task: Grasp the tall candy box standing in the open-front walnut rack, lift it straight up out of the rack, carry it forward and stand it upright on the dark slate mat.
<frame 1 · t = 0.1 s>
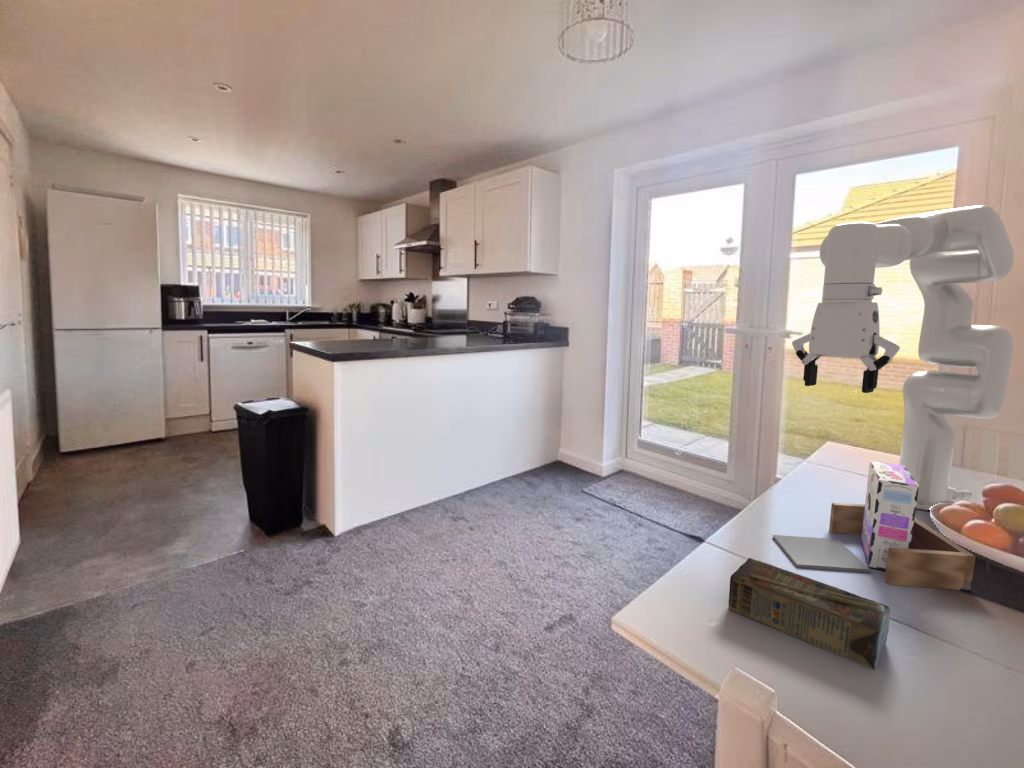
hand: (837, 388, 93), 31 cm above the table, tool pointing down, fingers open, 9 cm apart
beverage carton: (802, 628, 73), on the table
mat: (818, 553, 95), on the table
candy box: (881, 556, 94), on the table
rack: (878, 555, 94), on the table
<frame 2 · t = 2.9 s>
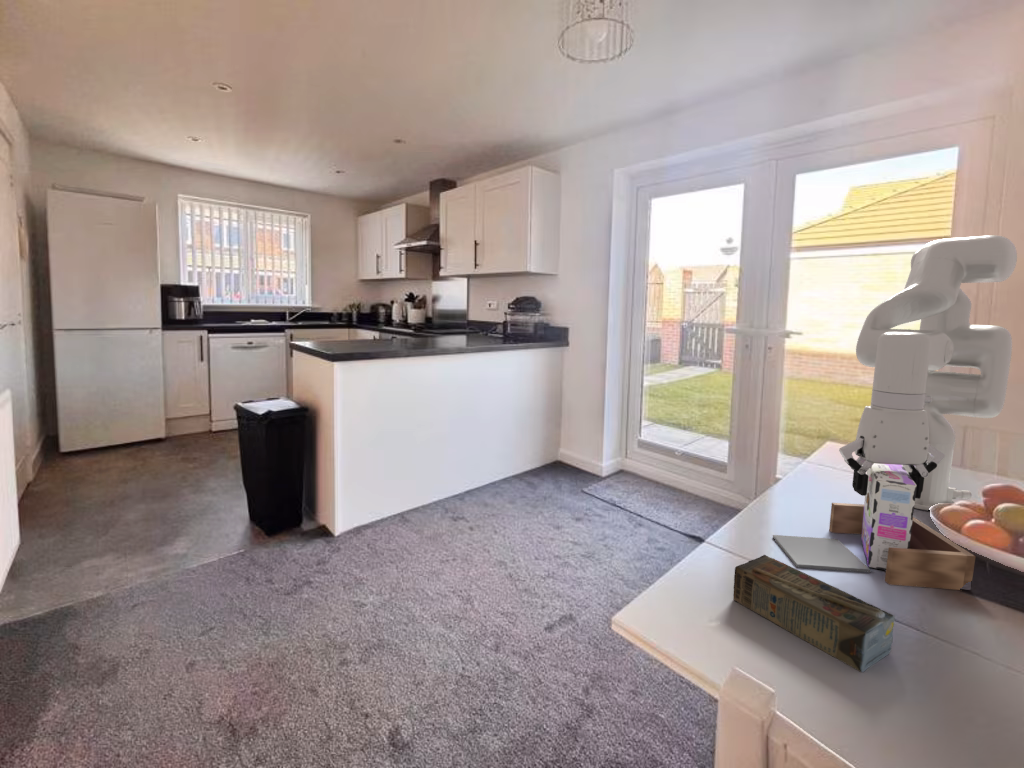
hand: (886, 494, 92), 12 cm above the table, tool pointing down, fingers open, 8 cm apart
candy box: (881, 556, 94), on the table, touching gripper
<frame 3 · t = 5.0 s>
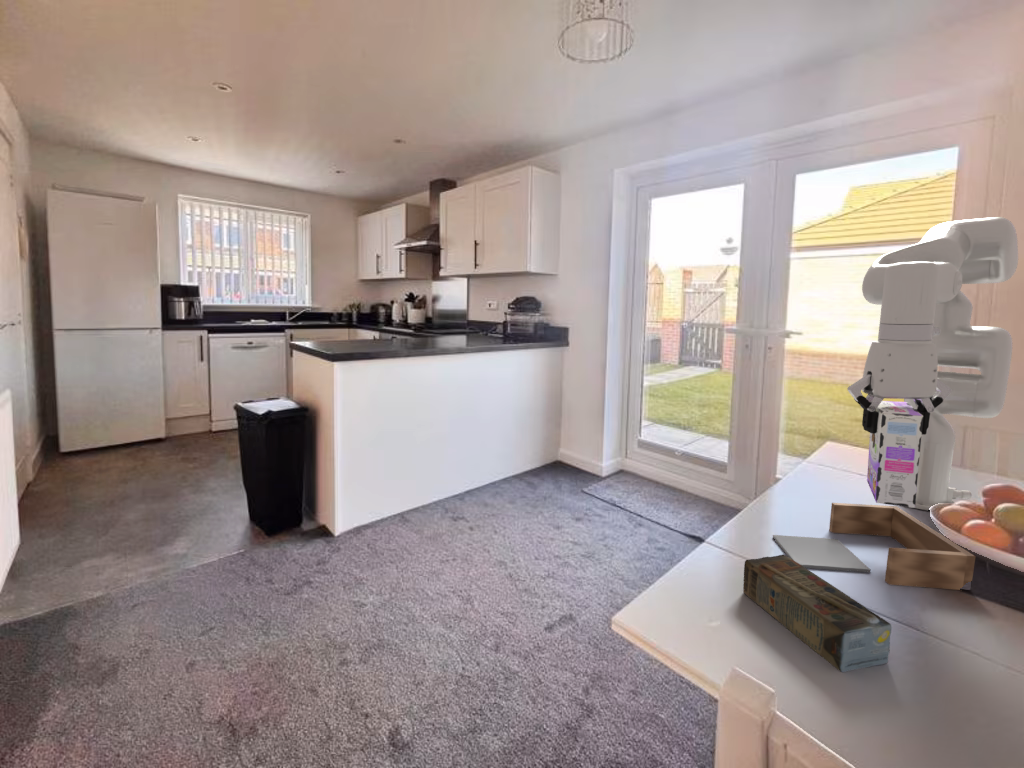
hand: (894, 431, 91), 24 cm above the table, tool pointing down, fingers closed on candy box, 7 cm apart
candy box: (889, 494, 93), point 12 cm above the table, touching gripper
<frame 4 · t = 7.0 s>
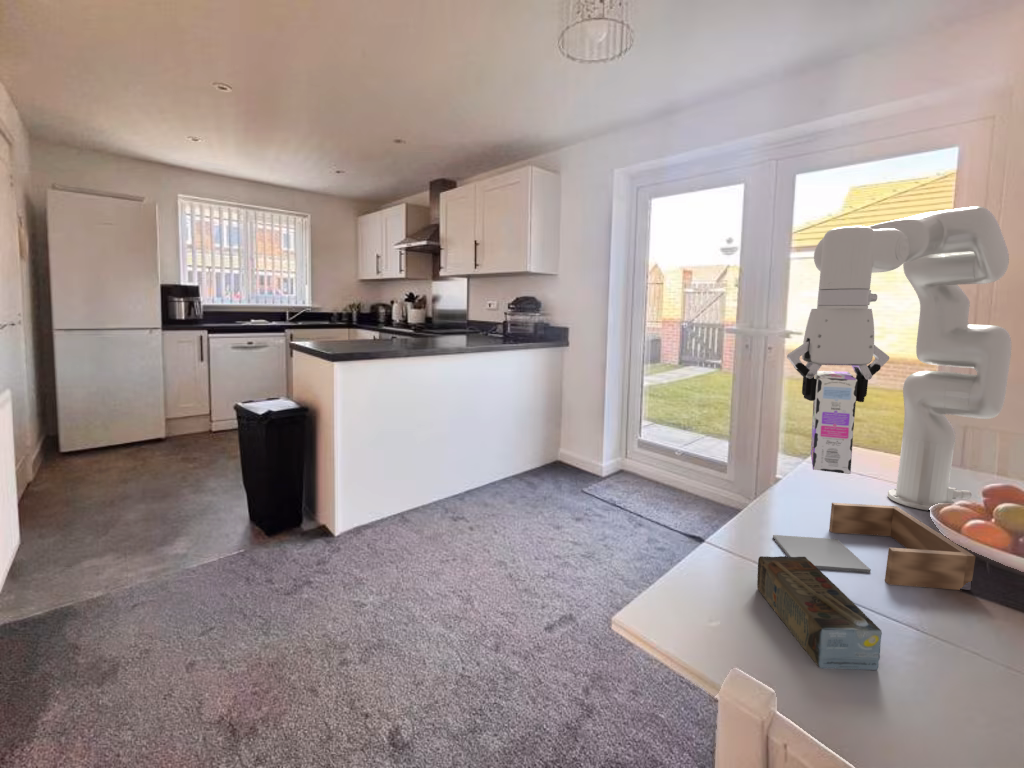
hand: (833, 399, 91), 30 cm above the table, tool pointing down, fingers closed on candy box, 7 cm apart
candy box: (829, 463, 92), point 18 cm above the table, touching gripper
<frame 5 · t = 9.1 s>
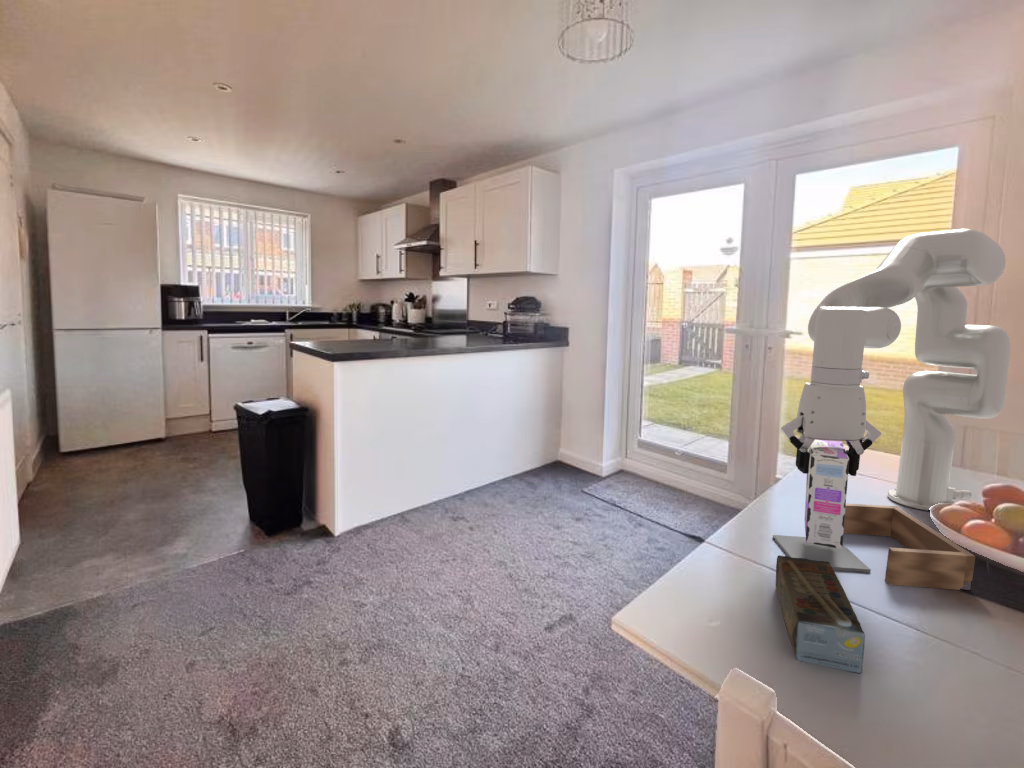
hand: (826, 471, 92), 16 cm above the table, tool pointing down, fingers closed on candy box, 7 cm apart
candy box: (822, 533, 94), point 4 cm above the table, touching gripper
when the fingers open (13 cm above the table, at t = 10.8 s): candy box stays where it is, resting on mat.
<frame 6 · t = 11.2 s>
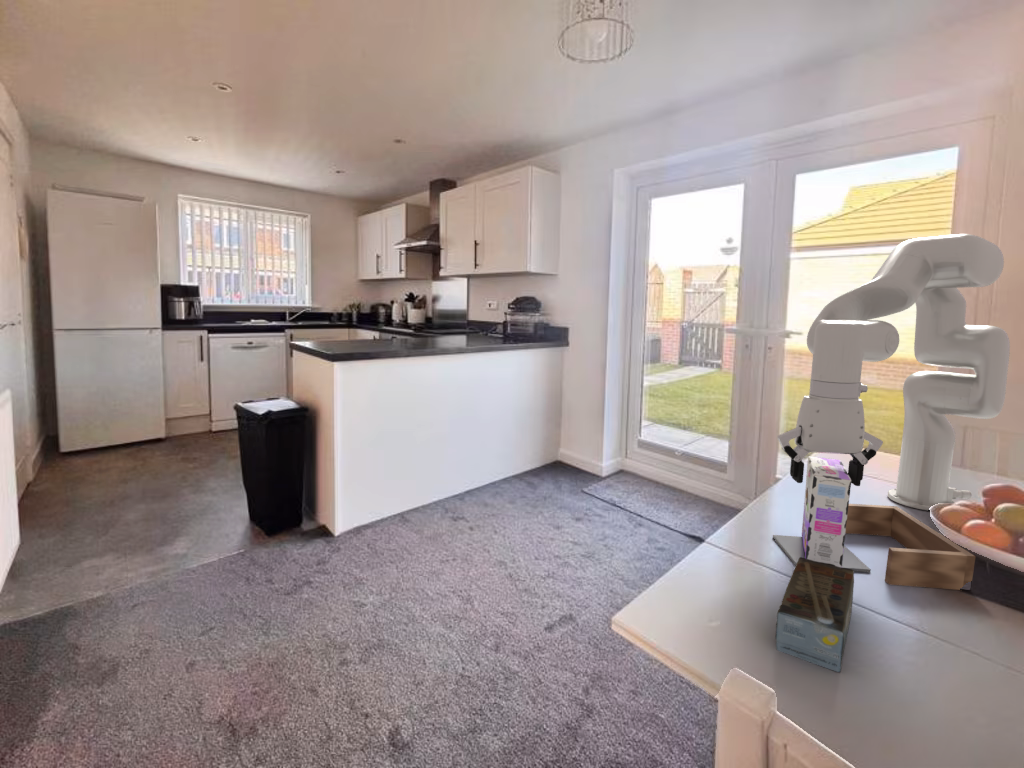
hand: (825, 482, 93), 14 cm above the table, tool pointing down, fingers open, 9 cm apart
candy box: (819, 551, 95), resting on mat
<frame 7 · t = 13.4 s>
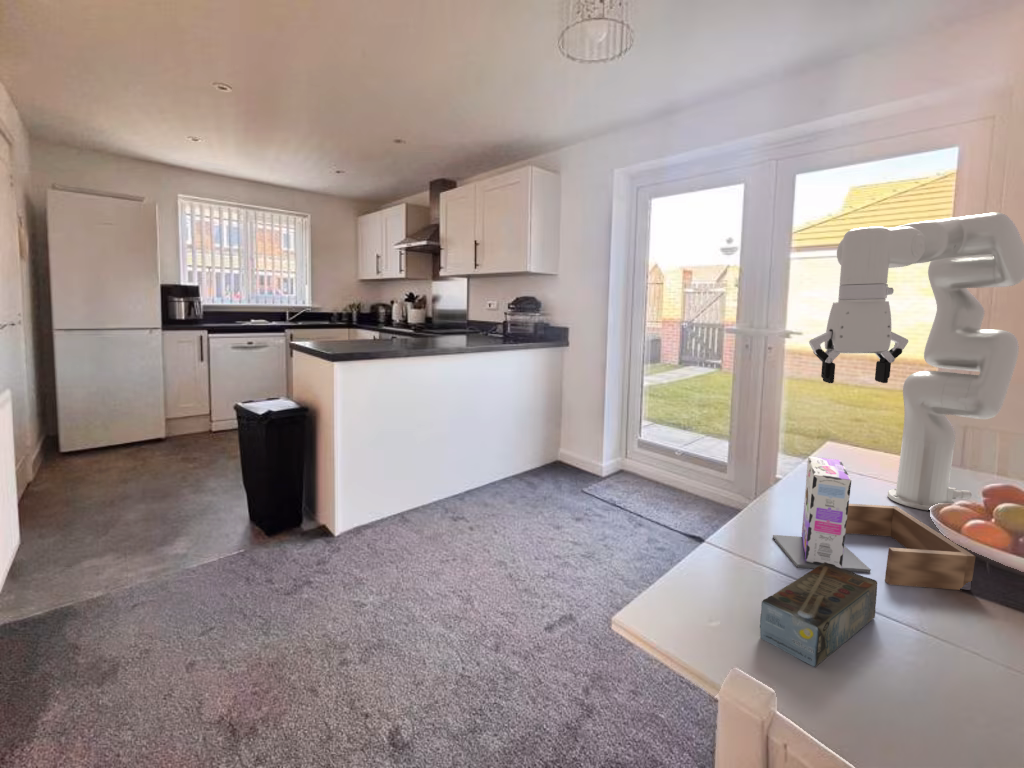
hand: (854, 382, 100), 31 cm above the table, tool pointing down, fingers open, 9 cm apart
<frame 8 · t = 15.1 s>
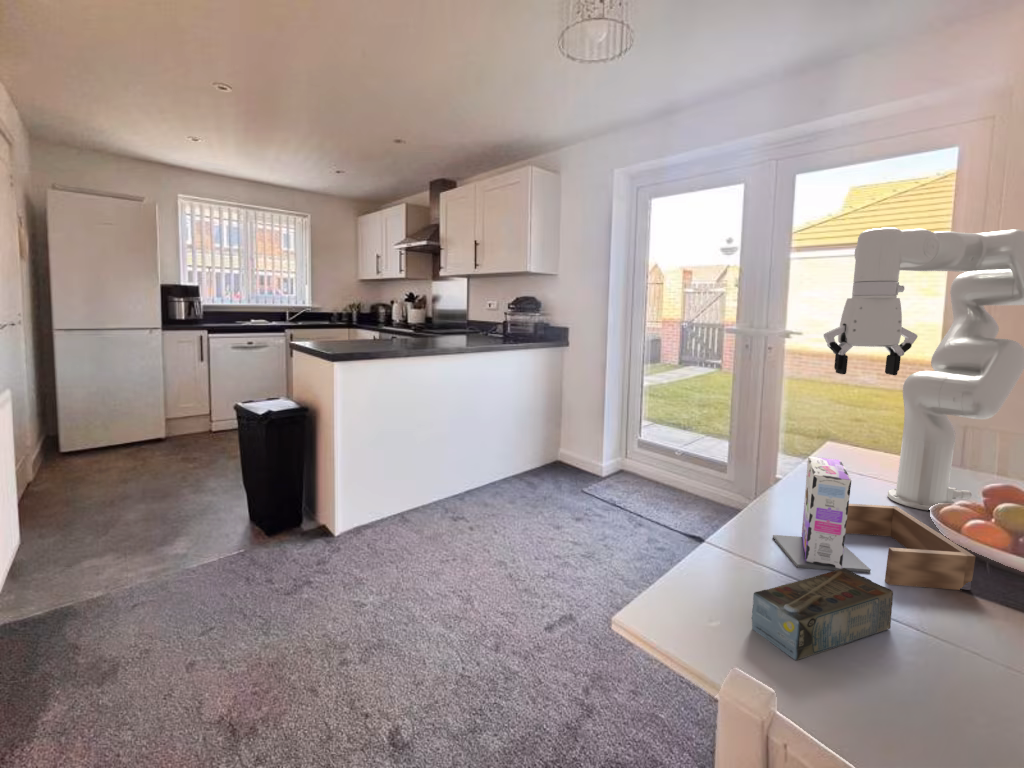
hand: (865, 374, 106), 32 cm above the table, tool pointing down, fingers open, 9 cm apart
at the end: candy box inside the target area on the mat (0.6 cm from its centre), point 0.4 cm above the mat's base; candy box tilted 0°; the gripper is holding nothing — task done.
